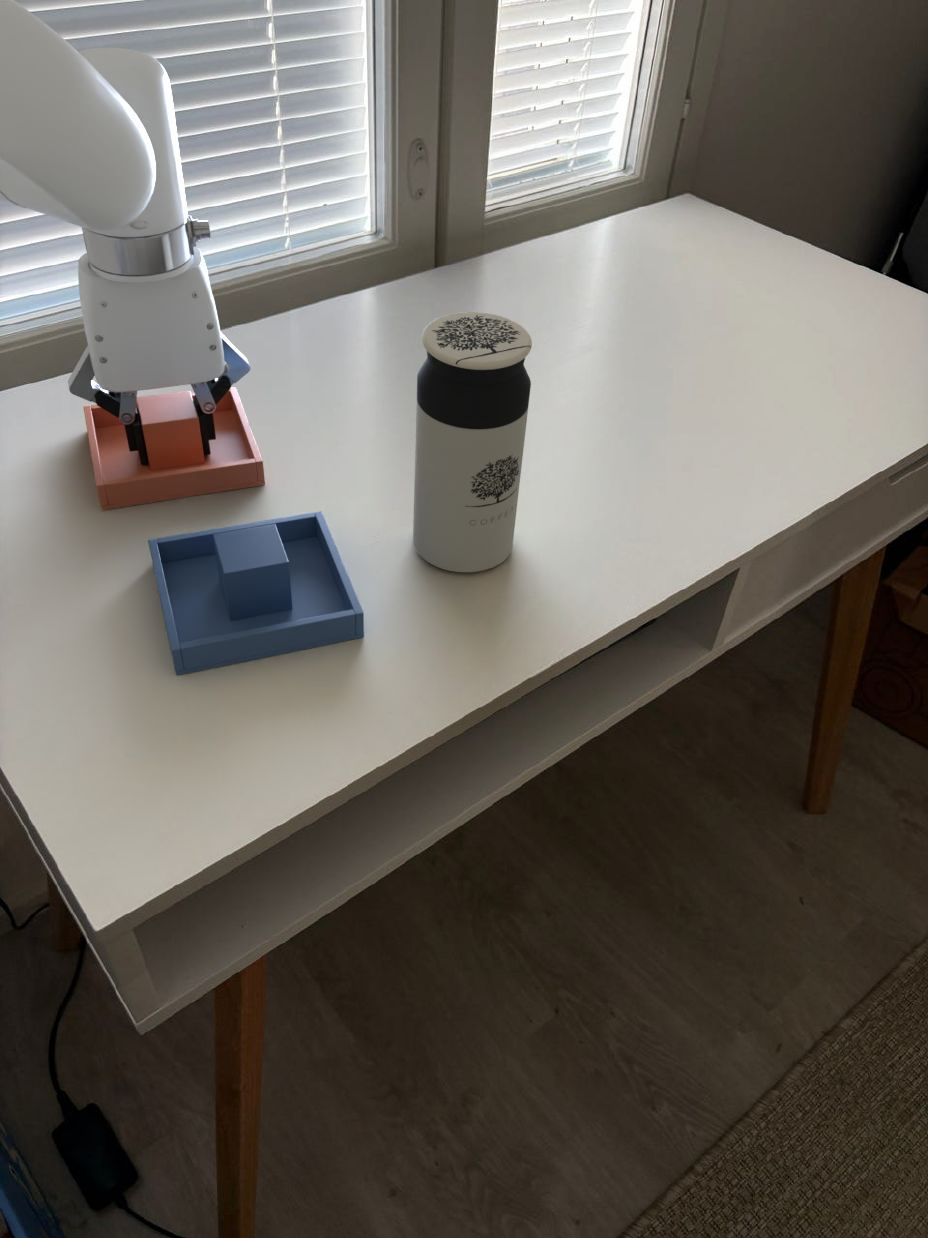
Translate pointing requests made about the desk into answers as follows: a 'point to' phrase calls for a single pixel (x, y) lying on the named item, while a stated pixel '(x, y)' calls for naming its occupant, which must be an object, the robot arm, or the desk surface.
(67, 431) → the desk surface
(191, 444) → the terracotta block
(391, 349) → the desk surface
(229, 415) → the terracotta tray
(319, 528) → the blue tray
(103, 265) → the robot arm
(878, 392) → the desk surface
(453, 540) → the travel mug
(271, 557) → the blue block
